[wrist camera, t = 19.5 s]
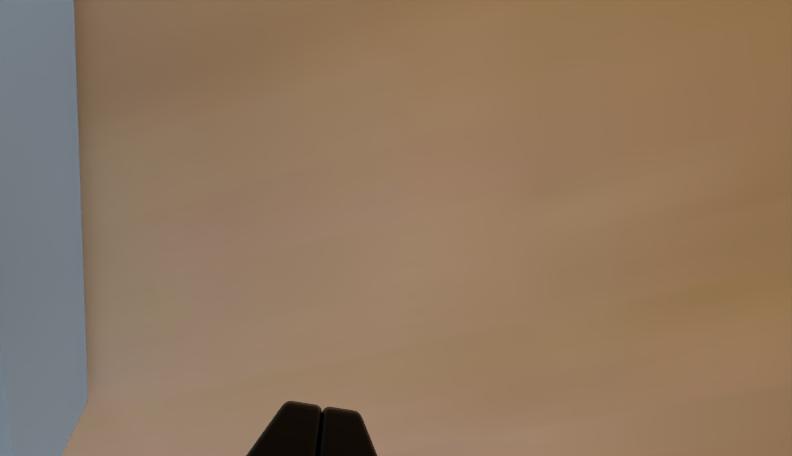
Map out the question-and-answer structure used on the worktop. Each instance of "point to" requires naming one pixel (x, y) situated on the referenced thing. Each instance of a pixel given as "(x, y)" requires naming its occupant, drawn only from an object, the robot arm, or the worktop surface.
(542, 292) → the worktop surface
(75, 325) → the tray
